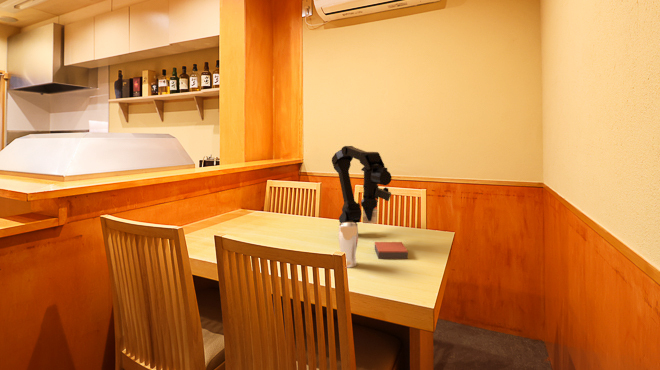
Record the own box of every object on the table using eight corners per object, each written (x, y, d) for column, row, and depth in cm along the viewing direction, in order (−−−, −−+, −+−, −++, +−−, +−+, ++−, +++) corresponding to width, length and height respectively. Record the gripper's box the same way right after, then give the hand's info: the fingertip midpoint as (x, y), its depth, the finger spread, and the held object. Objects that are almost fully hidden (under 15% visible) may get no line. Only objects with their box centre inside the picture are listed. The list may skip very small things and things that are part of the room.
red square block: (378, 259, 125) (378, 251, 125) (374, 250, 136) (374, 242, 136) (407, 260, 125) (407, 251, 125) (401, 250, 136) (401, 242, 136)
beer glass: (345, 259, 124) (345, 220, 122) (361, 263, 120) (361, 223, 118) (334, 265, 119) (334, 224, 117) (351, 269, 115) (351, 227, 113)
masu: (362, 222, 137) (363, 211, 136) (363, 219, 142) (364, 208, 142) (376, 223, 136) (376, 211, 135) (377, 220, 141) (377, 208, 141)
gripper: (390, 186, 126) (389, 225, 128) (390, 180, 144) (389, 214, 147) (361, 185, 128) (360, 224, 130) (364, 179, 146) (364, 213, 149)
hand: (370, 219), depth 139 cm, fingers closed on masu, 6 cm apart
